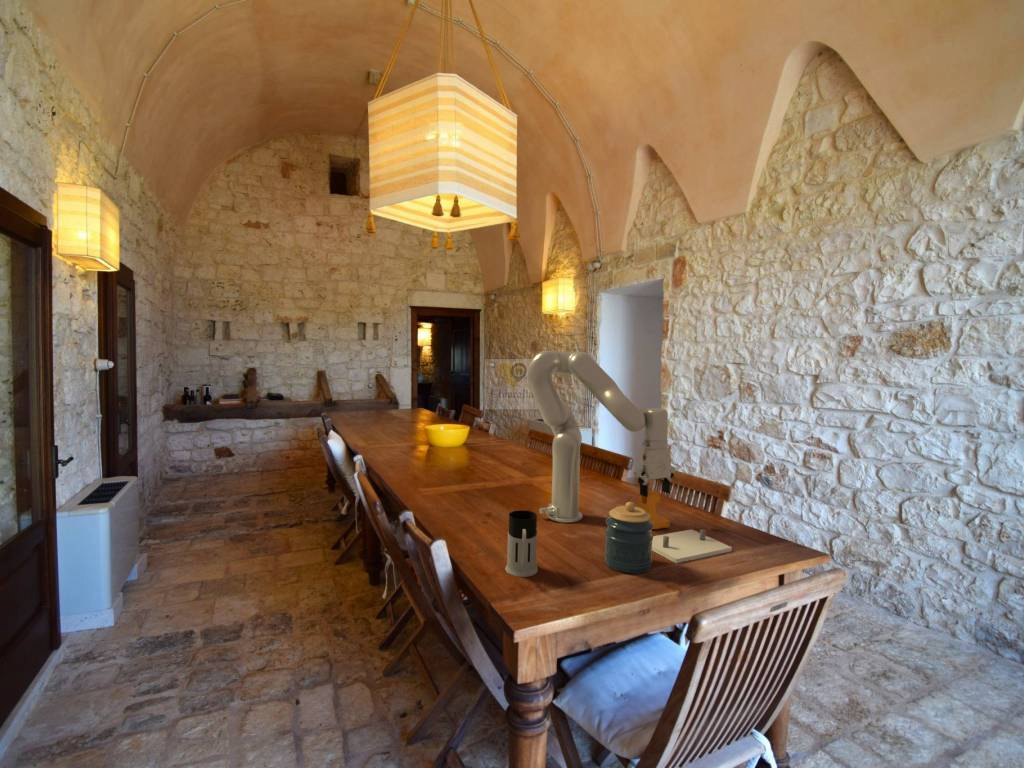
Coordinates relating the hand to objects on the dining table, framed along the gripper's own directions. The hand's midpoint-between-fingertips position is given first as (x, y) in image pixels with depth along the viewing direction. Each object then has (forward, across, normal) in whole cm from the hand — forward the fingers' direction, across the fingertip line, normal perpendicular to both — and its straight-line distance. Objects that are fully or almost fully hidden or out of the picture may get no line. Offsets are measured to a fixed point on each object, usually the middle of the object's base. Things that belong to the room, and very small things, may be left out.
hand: (654, 494), depth 168 cm
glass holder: (+10, -59, -16) cm, 62 cm away
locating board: (+11, -5, -18) cm, 22 cm away
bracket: (+11, -1, 0) cm, 11 cm away
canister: (+11, -29, -22) cm, 37 cm away
